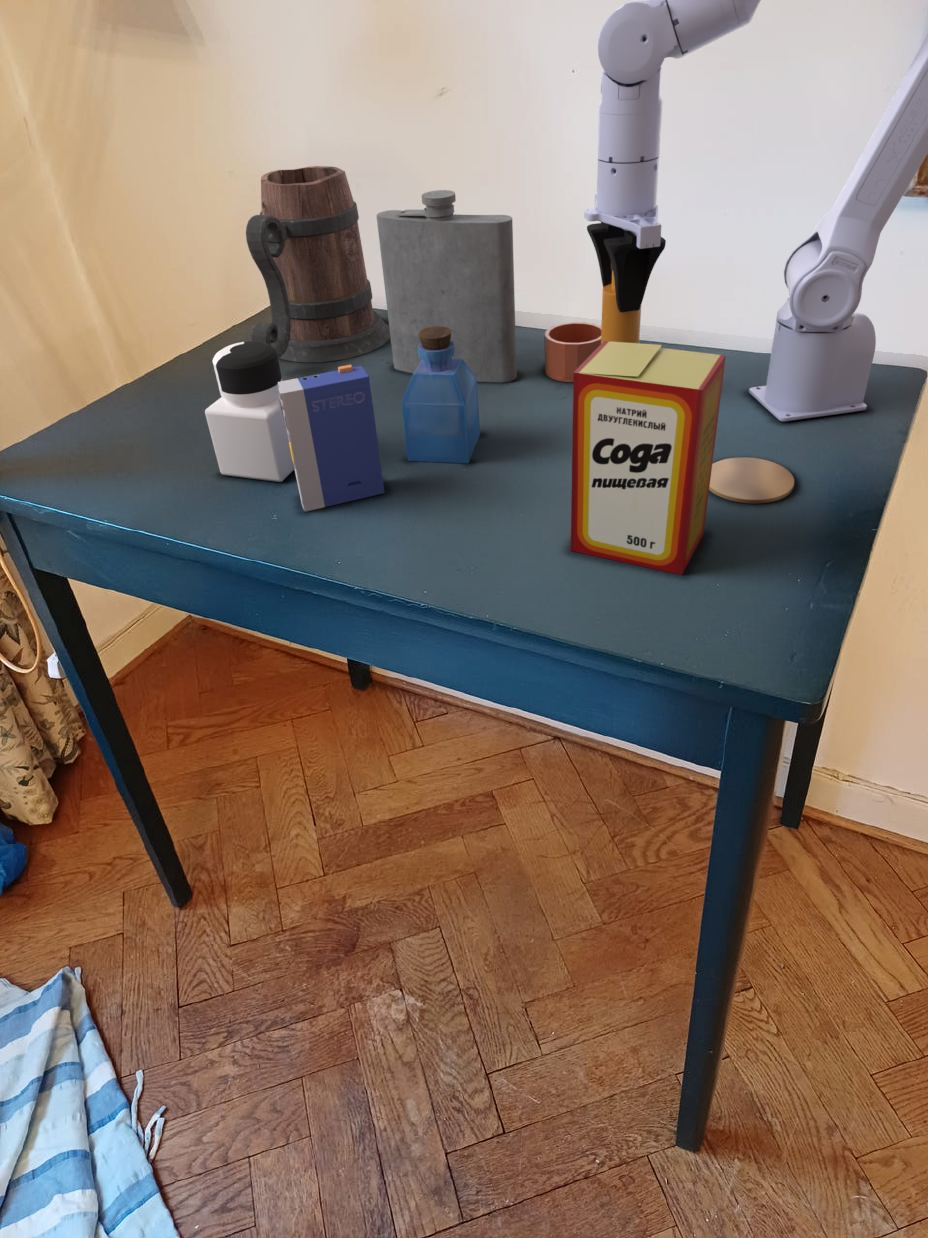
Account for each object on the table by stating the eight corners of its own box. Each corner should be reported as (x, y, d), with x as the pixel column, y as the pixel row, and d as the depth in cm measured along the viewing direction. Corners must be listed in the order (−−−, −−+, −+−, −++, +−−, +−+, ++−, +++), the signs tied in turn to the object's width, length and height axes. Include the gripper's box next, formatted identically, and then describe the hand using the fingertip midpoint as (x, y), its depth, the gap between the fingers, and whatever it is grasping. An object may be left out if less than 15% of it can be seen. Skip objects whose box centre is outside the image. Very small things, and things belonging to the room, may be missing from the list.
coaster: (769, 455, 85) (770, 452, 85) (809, 496, 79) (810, 492, 78) (690, 467, 84) (690, 463, 84) (724, 509, 78) (724, 505, 78)
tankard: (306, 311, 127) (280, 157, 114) (412, 320, 121) (396, 158, 109) (210, 375, 110) (167, 202, 98) (327, 389, 104) (297, 207, 92)
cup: (594, 355, 107) (595, 318, 104) (612, 377, 102) (614, 339, 99) (538, 363, 106) (538, 326, 104) (553, 385, 101) (553, 347, 98)
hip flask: (520, 373, 104) (516, 189, 92) (507, 386, 102) (501, 199, 89) (401, 359, 110) (382, 185, 98) (386, 372, 107) (364, 193, 95)
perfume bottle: (468, 463, 88) (460, 344, 80) (408, 460, 89) (394, 344, 81) (479, 434, 92) (473, 320, 85) (422, 433, 93) (411, 320, 86)
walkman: (377, 480, 86) (360, 361, 79) (384, 493, 84) (368, 372, 76) (297, 498, 84) (273, 378, 77) (303, 512, 82) (278, 389, 75)
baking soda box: (703, 533, 75) (726, 350, 65) (681, 575, 70) (702, 384, 61) (597, 512, 79) (604, 336, 69) (570, 550, 74) (573, 367, 64)
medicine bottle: (315, 450, 92) (294, 337, 84) (282, 483, 87) (257, 365, 79) (255, 443, 94) (229, 332, 87) (219, 475, 89) (189, 360, 81)
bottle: (632, 336, 96) (636, 248, 90) (644, 350, 92) (649, 258, 87) (596, 341, 95) (598, 252, 90) (607, 354, 92) (610, 263, 86)
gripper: (566, 147, 88) (565, 286, 96) (610, 177, 77) (605, 331, 85) (634, 140, 89) (628, 278, 97) (688, 168, 77) (675, 322, 86)
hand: (621, 302), depth 91 cm, fingers closed on bottle, 4 cm apart
